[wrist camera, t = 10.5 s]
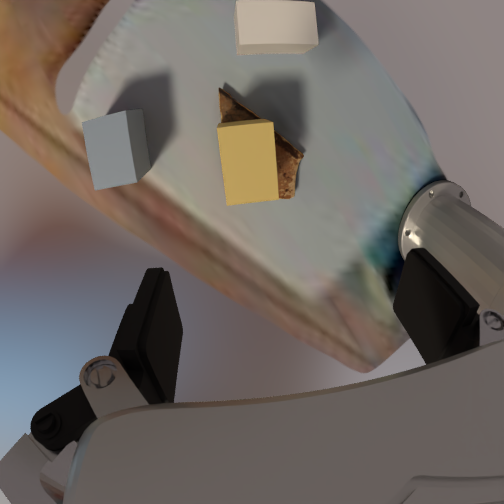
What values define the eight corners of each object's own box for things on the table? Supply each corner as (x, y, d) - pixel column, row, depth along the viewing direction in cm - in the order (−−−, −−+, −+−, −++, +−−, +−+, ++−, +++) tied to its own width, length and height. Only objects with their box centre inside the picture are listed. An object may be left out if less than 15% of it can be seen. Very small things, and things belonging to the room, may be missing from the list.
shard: (219, 88, 23) (218, 87, 22) (300, 88, 24) (305, 87, 22) (224, 197, 29) (224, 203, 27) (299, 193, 29) (303, 199, 27)
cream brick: (299, 17, 20) (314, 2, 15) (302, 54, 22) (318, 44, 17) (234, 18, 19) (236, 0, 15) (236, 55, 21) (239, 44, 17)
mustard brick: (218, 123, 23) (216, 128, 19) (263, 118, 23) (273, 122, 19) (226, 187, 26) (227, 205, 22) (269, 182, 26) (278, 199, 22)
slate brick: (104, 117, 23) (82, 122, 18) (142, 108, 23) (125, 110, 18) (114, 175, 26) (94, 190, 21) (151, 168, 26) (137, 182, 21)
